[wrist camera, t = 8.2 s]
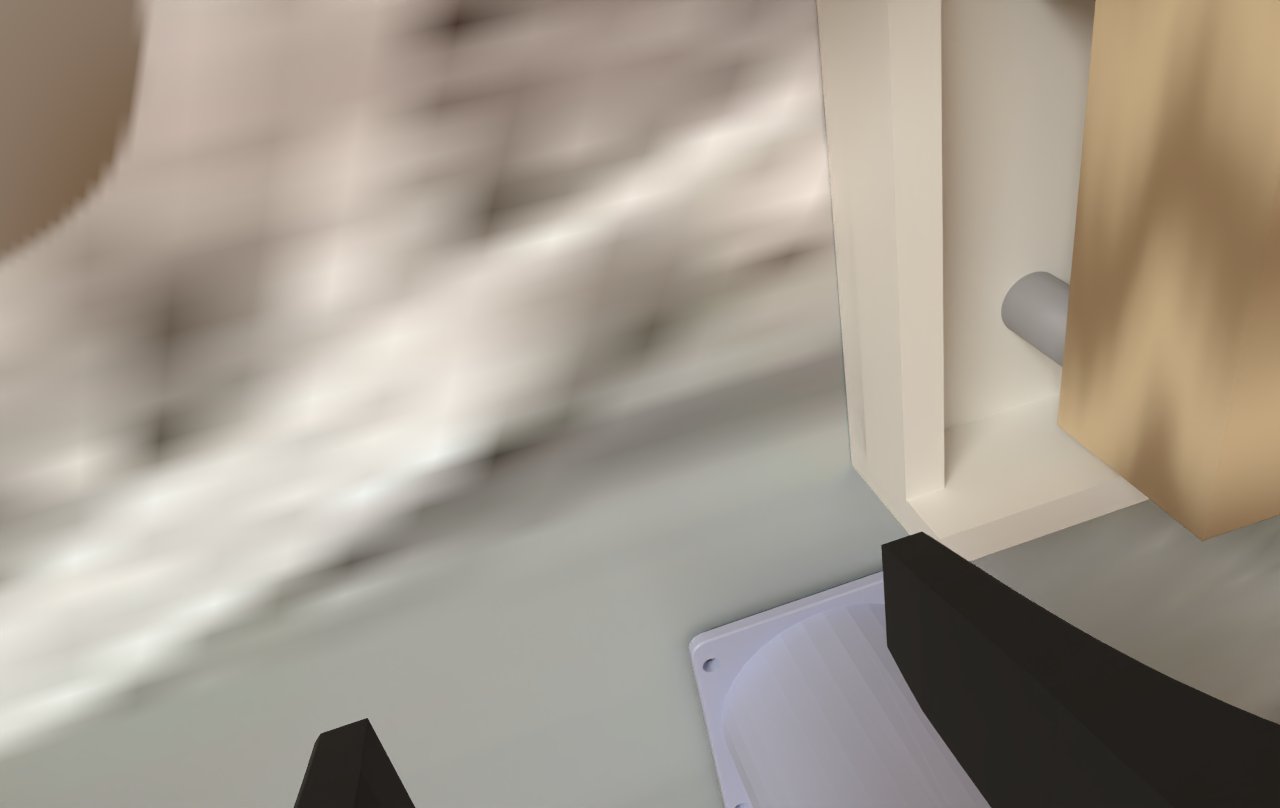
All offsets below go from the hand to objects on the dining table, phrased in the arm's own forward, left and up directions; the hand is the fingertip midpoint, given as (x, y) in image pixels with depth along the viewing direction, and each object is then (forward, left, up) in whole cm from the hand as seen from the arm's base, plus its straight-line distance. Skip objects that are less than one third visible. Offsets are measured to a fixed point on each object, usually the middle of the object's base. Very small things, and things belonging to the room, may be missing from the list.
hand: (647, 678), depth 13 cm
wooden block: (+2, -14, -7) cm, 15 cm away
